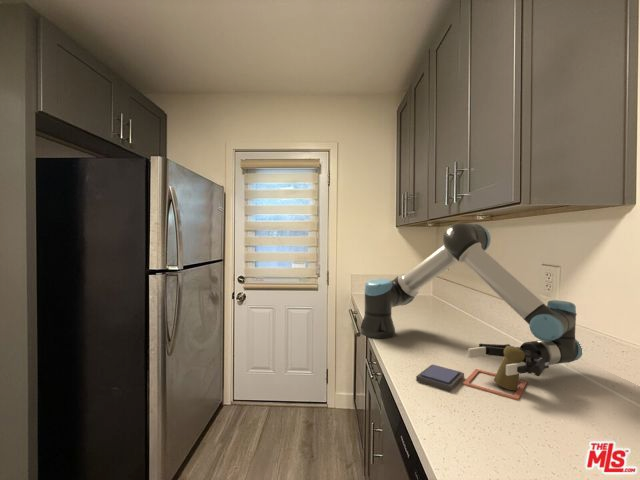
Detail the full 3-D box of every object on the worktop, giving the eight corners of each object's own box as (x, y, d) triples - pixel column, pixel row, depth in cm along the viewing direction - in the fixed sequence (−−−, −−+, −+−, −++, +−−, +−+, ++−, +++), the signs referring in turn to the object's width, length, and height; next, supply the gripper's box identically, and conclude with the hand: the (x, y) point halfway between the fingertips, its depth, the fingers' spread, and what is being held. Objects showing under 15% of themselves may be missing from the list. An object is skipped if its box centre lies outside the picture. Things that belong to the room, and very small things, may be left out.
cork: (520, 393, 91) (531, 355, 90) (496, 385, 92) (507, 348, 91) (513, 383, 97) (523, 347, 96) (491, 376, 98) (501, 341, 97)
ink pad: (431, 369, 107) (431, 362, 107) (464, 378, 100) (464, 371, 100) (416, 381, 97) (416, 374, 97) (450, 391, 91) (451, 384, 91)
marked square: (475, 370, 107) (475, 368, 107) (526, 382, 98) (526, 381, 98) (462, 384, 96) (462, 383, 96) (518, 400, 87) (518, 398, 87)
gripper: (581, 382, 91) (526, 393, 84) (503, 352, 115) (454, 359, 107) (582, 355, 91) (526, 364, 84) (504, 330, 114) (455, 335, 107)
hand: (486, 361), depth 95 cm, fingers open, 13 cm apart
